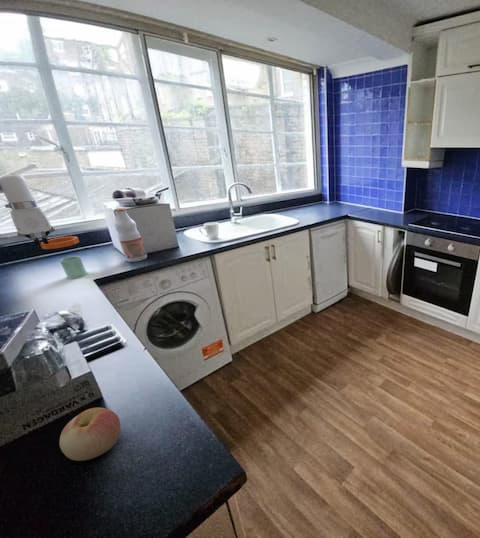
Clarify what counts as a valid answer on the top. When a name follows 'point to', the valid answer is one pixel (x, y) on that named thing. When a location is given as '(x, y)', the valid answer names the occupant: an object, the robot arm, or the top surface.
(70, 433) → the apple
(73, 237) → the ring
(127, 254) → the fruit juice
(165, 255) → the top surface
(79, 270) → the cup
